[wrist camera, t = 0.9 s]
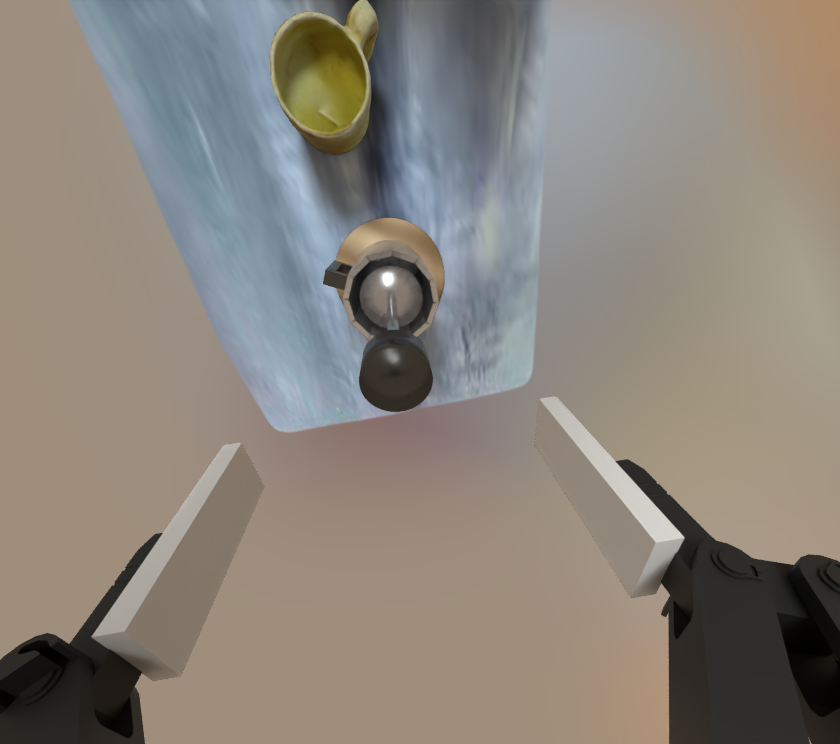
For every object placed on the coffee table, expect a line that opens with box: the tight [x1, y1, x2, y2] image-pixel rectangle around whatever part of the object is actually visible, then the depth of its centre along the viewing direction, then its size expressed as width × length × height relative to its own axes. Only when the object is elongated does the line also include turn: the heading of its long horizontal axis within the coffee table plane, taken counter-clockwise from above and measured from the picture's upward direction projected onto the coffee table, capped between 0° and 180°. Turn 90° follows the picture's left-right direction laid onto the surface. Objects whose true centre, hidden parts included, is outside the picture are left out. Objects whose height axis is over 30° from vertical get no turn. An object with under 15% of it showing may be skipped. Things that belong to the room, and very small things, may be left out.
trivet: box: [336, 218, 444, 304], centre depth 45 cm, size 16×16×1 cm
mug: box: [270, 0, 379, 155], centre depth 32 cm, size 12×10×10 cm
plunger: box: [359, 265, 433, 412], centre depth 27 cm, size 7×7×20 cm
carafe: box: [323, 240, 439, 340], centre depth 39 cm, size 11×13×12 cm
